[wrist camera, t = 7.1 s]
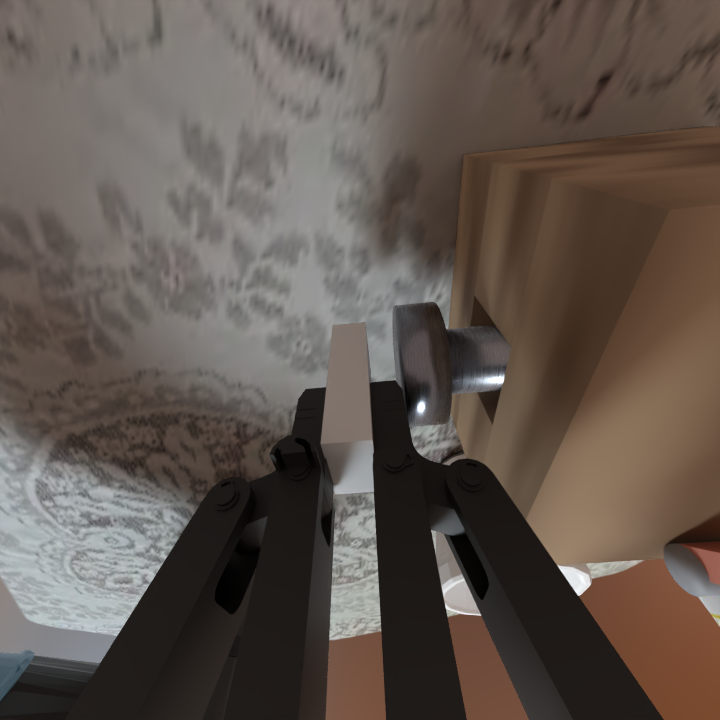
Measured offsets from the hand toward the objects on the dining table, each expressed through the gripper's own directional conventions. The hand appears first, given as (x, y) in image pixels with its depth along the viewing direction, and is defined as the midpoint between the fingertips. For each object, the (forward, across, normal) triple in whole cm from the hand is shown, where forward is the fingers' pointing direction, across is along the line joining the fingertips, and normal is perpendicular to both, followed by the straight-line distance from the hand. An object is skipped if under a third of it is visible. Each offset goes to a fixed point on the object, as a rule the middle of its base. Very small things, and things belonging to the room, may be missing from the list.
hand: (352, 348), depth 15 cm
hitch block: (+4, +11, 0) cm, 11 cm away
